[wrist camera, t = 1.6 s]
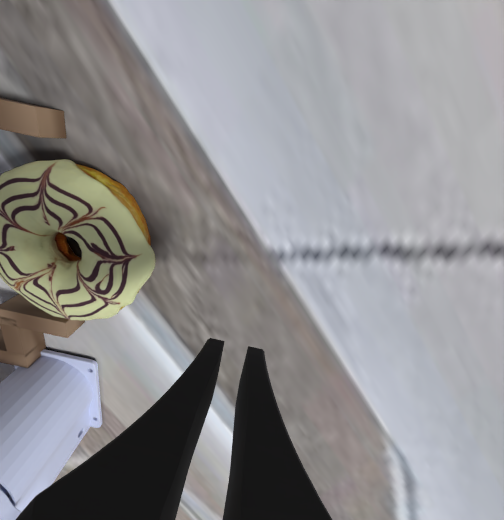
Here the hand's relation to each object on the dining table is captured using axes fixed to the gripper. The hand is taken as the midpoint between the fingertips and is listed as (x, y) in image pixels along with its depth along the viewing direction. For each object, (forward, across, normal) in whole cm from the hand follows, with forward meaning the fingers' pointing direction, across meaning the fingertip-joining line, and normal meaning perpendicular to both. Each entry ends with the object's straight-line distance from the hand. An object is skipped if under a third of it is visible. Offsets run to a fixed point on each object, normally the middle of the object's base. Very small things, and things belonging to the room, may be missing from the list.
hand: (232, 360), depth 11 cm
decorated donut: (+9, +12, 0) cm, 15 cm away
